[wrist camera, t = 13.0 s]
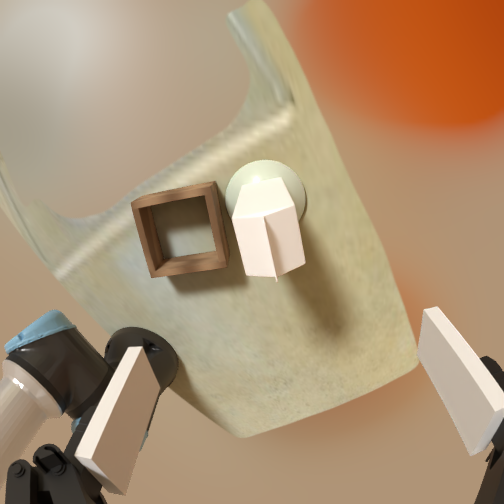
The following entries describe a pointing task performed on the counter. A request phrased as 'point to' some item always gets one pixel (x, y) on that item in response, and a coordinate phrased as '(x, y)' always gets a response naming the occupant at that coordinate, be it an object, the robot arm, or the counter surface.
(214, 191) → the sleeve
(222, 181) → the counter surface
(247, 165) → the cream glossy dome
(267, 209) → the milk
